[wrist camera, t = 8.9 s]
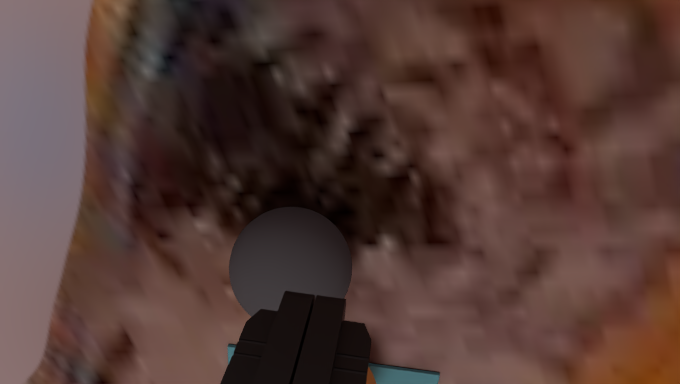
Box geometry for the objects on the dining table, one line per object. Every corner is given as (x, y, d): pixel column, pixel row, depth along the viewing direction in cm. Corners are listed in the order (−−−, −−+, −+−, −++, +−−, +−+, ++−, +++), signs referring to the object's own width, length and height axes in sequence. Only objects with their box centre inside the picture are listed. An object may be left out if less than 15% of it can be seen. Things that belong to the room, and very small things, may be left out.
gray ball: (289, 377, 23) (337, 320, 28) (347, 276, 21) (387, 233, 26) (187, 303, 24) (250, 261, 29) (232, 200, 22) (292, 173, 27)
